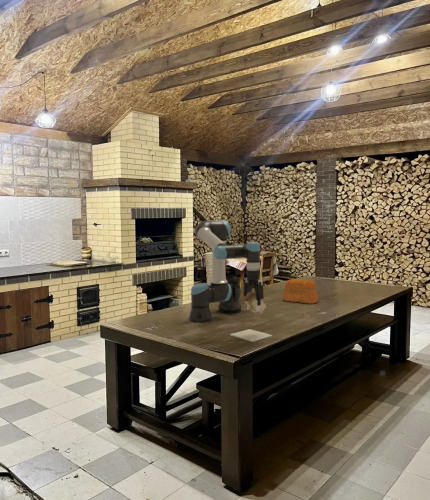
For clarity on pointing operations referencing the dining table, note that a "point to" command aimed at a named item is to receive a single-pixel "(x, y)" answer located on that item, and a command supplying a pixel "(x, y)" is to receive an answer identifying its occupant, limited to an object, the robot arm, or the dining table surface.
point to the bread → (300, 291)
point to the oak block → (253, 302)
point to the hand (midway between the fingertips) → (253, 310)
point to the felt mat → (251, 335)
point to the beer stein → (232, 298)
